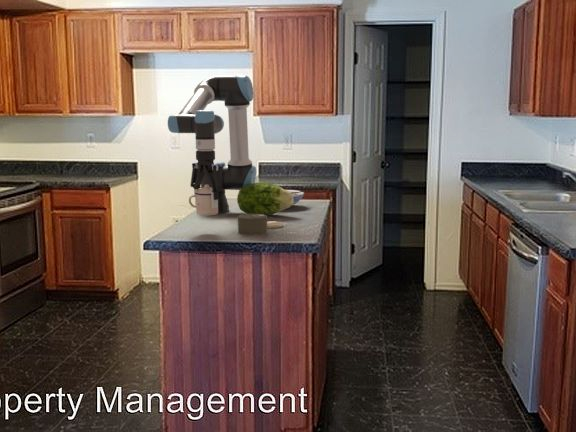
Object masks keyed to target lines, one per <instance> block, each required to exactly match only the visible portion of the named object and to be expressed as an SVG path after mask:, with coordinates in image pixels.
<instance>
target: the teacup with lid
mask: <svg viewBox="0 0 576 432" xmlns="http://www.w3.org/2000/svg"><path fill="white" fill-rule="evenodd" d="M199 189H200V190H197V191H196V195H195V194H192V195H190V196H189V197H188V204H189V205H190V206H191V207H192V208H195V210H196V214H197V215H199V216H215V215H218V214H219V213H218V208H212V202H211V192H212V188H211V187H209V185H204V187H203V188H199ZM195 197H196V205H194V204H193V203H192V198H195Z"/></svg>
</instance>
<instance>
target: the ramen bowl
mask: <svg viewBox="0 0 576 432" xmlns="http://www.w3.org/2000/svg"><path fill="white" fill-rule="evenodd" d="M286 190H287V191H289V192H290V193H291V194H292V195H293V199H294V201H293V205H292V206H294V205H296V204H298V203H299V202H300V200H301V199H302V198H303V196H305V192H307V190H304V191H303V190H295V189H286Z"/></svg>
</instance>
